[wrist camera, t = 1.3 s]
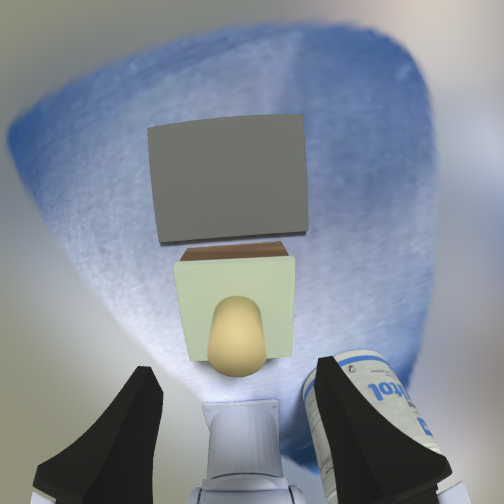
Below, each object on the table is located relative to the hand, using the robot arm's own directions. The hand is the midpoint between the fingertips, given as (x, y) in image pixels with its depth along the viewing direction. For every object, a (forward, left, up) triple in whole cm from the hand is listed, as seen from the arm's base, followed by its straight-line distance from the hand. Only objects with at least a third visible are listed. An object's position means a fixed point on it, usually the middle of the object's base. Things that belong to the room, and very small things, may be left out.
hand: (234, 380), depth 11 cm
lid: (-1, 0, -8) cm, 8 cm away
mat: (+8, 0, -11) cm, 13 cm away
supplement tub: (-13, -10, -11) cm, 20 cm away
